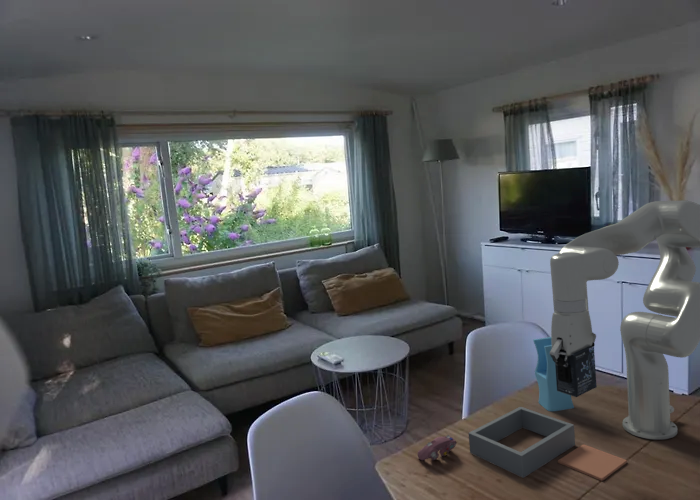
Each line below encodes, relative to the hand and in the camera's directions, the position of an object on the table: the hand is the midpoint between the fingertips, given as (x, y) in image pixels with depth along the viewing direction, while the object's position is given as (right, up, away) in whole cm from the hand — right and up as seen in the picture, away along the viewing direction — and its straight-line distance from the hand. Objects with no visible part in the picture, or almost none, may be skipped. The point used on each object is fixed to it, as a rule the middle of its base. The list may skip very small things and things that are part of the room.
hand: (575, 375), depth 122 cm
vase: (+8, -17, +33) cm, 38 cm away
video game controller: (-31, -24, +11) cm, 41 cm away
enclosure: (-9, -22, +10) cm, 26 cm away
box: (0, -4, 0) cm, 4 cm away
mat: (+4, -21, +1) cm, 22 cm away
